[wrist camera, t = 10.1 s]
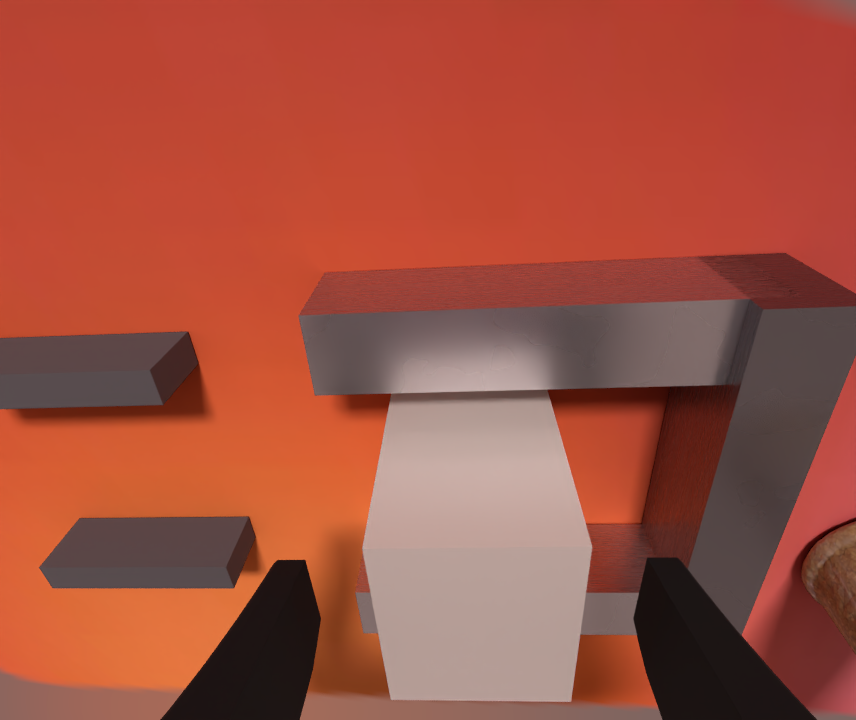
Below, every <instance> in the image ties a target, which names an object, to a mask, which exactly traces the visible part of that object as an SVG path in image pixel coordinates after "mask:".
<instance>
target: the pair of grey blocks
mask: <svg viewBox="0 0 856 720" xmlns="http://www.w3.org/2000/svg"><path fill="white" fill-rule="evenodd" d="M197 365H198V361H197V358H196V355H195V352H194V349H193V346H192V343H191V340H190V337H189V334H188V332H164V333H135V334H107V335H78V336H49V337H21V338H0V409H22V408H62V407H102V406H143V405H164V403H165V402H166V401H167V400H168V399H169V398H170V396H171V395H172V394H173V393H174V392H175V390H176V389H177V388H178V387H179V386H180V385H181V383H182V382H183V381H184V380H185V379H186V377H187V376H188V375H189V374H190V373H191V372H192V370H193V369H194V368H195V367H196V366H197ZM254 539H255V535H254V532H253V529H252V526H251V522H250V519H249V517H171V518H79V520H78V521H77V522H76V523H75V524H74V526H73V527H72V528H71V529H70V531H69V532H68V533H67V534H66V535H65V537H64V538H63V539H62V540H61V542H60V543H59V544H58V545H57V546H56V548H55V549H54V550H53V551H52V553H51V554H50V555H49V556H48V557H47V559H46V560H45V561H44V562H43V563H42V565H41V566H40V567H39V568H40V570H41V571H42V573H43V574H44V576H45V577H46V579H47V580H48V582H49V583H50V585H51V586H52V588H234V587H235V585H236V582H237V580H238V578H239V575H240V573H241V571H242V568H243V566H244V563H245V561H246V559H247V556H248V554H249V551H250V549H251V547H252V544H253V542H254Z"/></svg>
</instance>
